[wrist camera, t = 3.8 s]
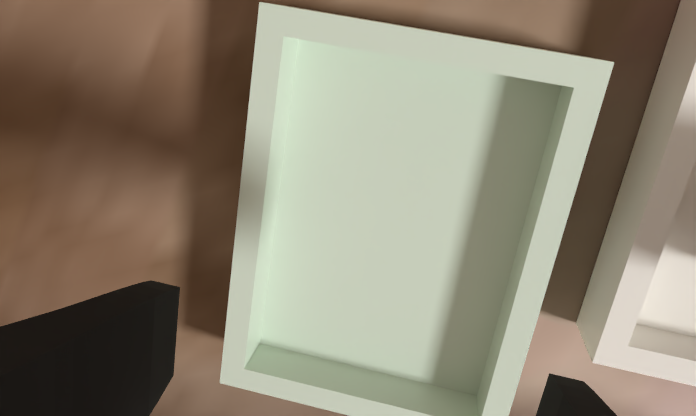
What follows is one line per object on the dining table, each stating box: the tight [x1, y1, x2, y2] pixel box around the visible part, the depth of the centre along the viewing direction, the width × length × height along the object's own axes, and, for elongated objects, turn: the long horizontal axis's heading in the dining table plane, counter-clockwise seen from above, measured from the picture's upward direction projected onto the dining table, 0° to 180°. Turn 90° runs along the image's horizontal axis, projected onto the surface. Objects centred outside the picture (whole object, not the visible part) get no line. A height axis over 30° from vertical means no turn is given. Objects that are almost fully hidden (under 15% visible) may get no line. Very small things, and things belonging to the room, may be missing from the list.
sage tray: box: [220, 2, 614, 416], centre depth 19 cm, size 10×13×2 cm
